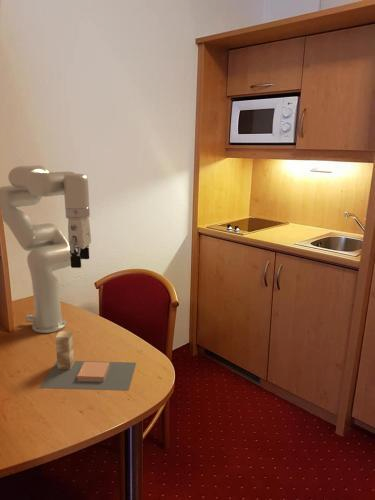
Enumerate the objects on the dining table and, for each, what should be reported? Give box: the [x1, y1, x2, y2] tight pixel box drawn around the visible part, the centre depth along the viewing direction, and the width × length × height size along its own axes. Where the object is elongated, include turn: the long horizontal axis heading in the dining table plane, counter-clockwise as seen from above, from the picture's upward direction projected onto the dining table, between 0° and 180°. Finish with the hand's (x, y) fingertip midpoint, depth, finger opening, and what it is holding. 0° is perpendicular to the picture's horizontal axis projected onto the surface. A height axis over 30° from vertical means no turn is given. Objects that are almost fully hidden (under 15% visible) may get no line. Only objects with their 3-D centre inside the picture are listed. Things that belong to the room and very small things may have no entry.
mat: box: [39, 360, 137, 391], centre depth 123 cm, size 26×15×1 cm, turn 88°
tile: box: [77, 361, 110, 382], centre depth 123 cm, size 2×8×8 cm
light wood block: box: [55, 330, 75, 369], centre depth 126 cm, size 4×4×11 cm
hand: (80, 263), depth 134 cm, fingers open, 9 cm apart
